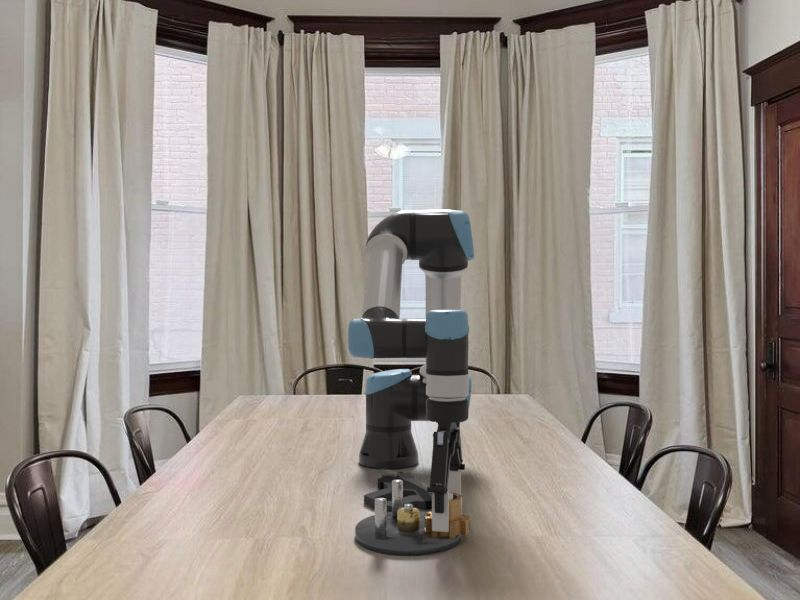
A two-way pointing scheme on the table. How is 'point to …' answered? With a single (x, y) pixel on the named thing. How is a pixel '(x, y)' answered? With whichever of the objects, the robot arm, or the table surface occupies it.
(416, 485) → the pistol
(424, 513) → the carrier
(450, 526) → the planet gear
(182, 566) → the table surface
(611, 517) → the table surface
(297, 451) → the table surface
